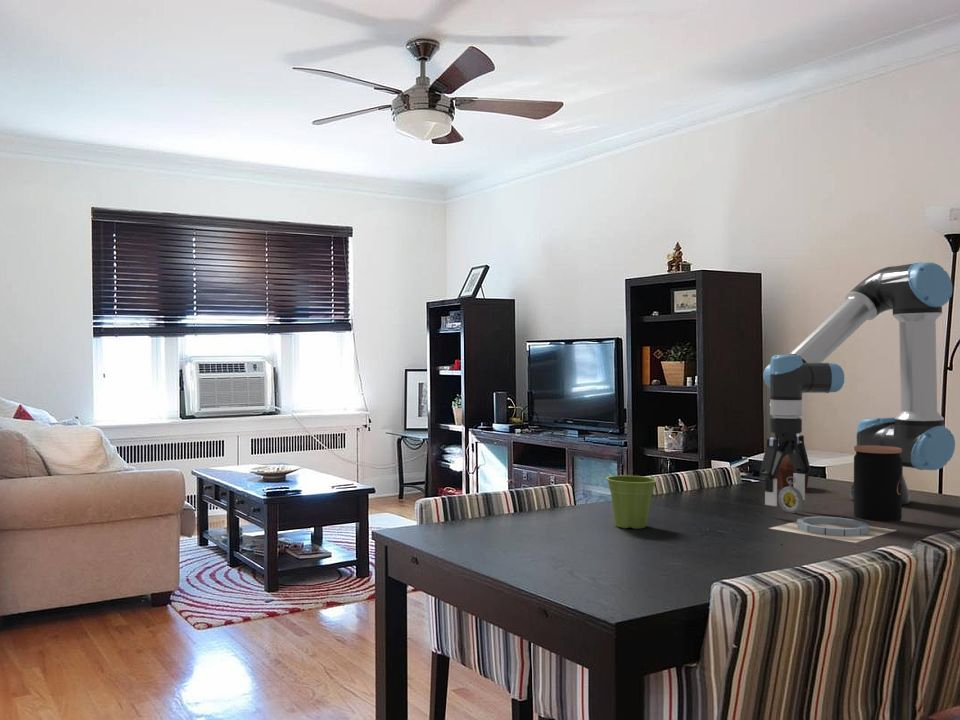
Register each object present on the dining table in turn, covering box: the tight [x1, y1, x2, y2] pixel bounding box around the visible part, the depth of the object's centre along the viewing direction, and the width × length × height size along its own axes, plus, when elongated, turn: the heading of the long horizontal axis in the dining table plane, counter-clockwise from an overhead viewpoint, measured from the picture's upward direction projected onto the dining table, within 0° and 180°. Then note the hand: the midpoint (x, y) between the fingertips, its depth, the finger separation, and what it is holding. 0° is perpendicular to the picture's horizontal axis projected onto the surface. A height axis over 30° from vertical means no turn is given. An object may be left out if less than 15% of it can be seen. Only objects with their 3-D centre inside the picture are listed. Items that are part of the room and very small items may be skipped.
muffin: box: [774, 455, 812, 491], centre depth 263 cm, size 12×11×10 cm
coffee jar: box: [853, 445, 903, 522], centre depth 210 cm, size 11×11×18 cm
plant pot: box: [605, 475, 658, 530], centre depth 203 cm, size 12×12×11 cm
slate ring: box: [797, 515, 870, 536], centre depth 195 cm, size 15×15×2 cm
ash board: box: [768, 521, 897, 544], centre depth 195 cm, size 20×20×1 cm
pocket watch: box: [778, 477, 804, 516], centre depth 214 cm, size 8×8×10 cm
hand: (785, 502), depth 214 cm, fingers open, 13 cm apart
